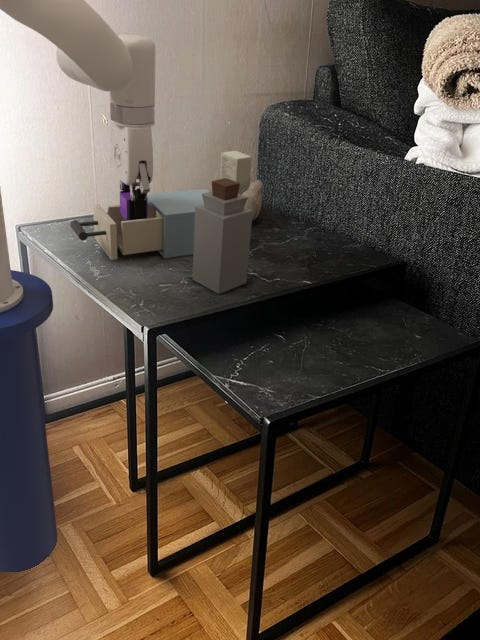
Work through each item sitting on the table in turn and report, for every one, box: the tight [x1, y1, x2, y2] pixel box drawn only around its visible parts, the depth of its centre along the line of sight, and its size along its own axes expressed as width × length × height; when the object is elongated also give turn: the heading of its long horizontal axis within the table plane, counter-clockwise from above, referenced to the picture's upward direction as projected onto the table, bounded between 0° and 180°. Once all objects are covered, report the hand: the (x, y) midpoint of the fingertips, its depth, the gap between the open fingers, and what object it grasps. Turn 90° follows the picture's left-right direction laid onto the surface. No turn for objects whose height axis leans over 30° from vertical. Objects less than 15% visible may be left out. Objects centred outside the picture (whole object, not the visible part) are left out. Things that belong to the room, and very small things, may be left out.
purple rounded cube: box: [119, 192, 148, 221], centre depth 113 cm, size 4×4×4 cm
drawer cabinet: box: [147, 188, 211, 259], centre depth 120 cm, size 14×12×9 cm
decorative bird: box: [240, 179, 266, 222], centre depth 132 cm, size 5×16×8 cm, turn 163°
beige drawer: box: [69, 204, 164, 261], centre depth 114 cm, size 18×10×7 cm, turn 118°
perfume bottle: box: [192, 178, 253, 295], centre depth 104 cm, size 7×7×18 cm
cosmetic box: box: [219, 150, 252, 194], centre depth 139 cm, size 6×4×12 cm
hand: (133, 214), depth 114 cm, fingers closed on purple rounded cube, 4 cm apart
